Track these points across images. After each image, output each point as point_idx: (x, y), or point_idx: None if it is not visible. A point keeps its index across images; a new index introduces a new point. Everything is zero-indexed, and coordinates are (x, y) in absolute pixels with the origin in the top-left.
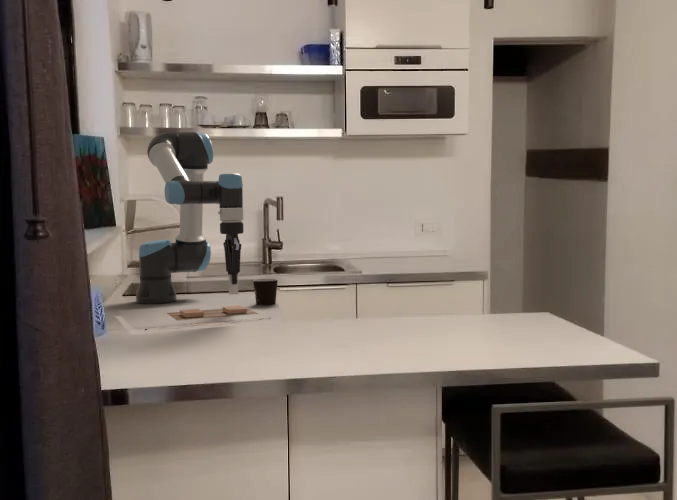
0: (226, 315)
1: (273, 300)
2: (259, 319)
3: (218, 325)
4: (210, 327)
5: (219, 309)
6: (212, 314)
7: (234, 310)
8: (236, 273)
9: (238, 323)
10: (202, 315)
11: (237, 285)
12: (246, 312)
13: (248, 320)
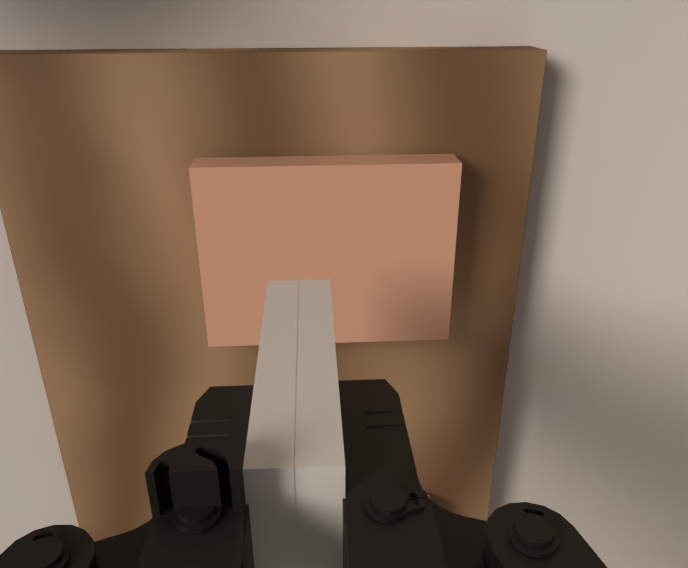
0: (468, 345)
1: None
2: (595, 62)
3: (641, 417)
4: (677, 469)
5: (73, 323)
6: None
7: (449, 287)
8: (455, 524)
9: (663, 282)
10: None
11: (334, 345)
12: (402, 145)
13: (581, 172)
